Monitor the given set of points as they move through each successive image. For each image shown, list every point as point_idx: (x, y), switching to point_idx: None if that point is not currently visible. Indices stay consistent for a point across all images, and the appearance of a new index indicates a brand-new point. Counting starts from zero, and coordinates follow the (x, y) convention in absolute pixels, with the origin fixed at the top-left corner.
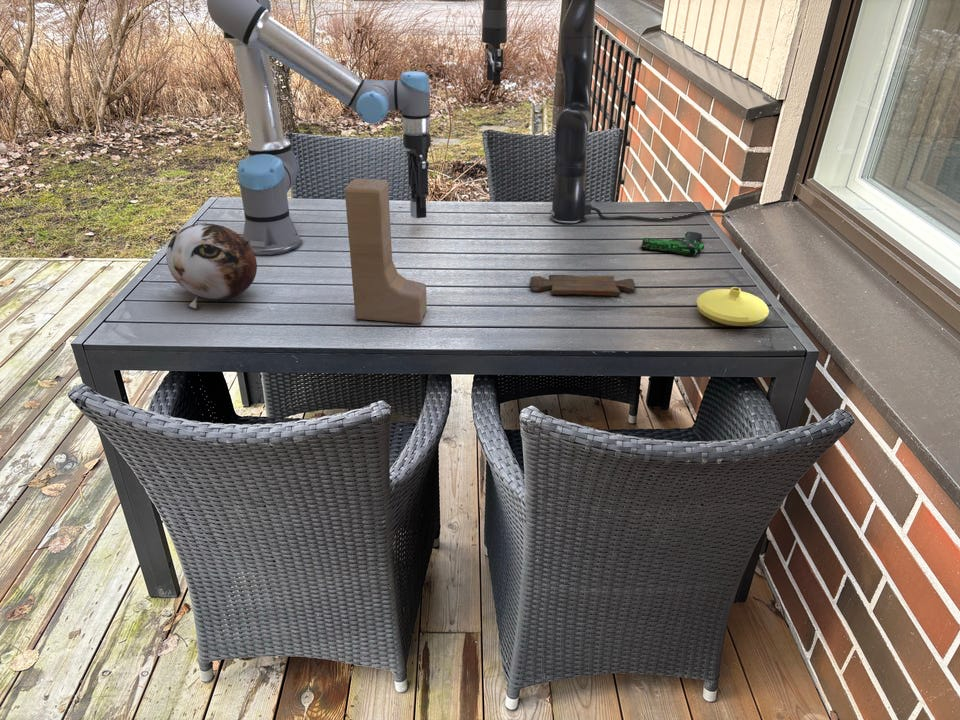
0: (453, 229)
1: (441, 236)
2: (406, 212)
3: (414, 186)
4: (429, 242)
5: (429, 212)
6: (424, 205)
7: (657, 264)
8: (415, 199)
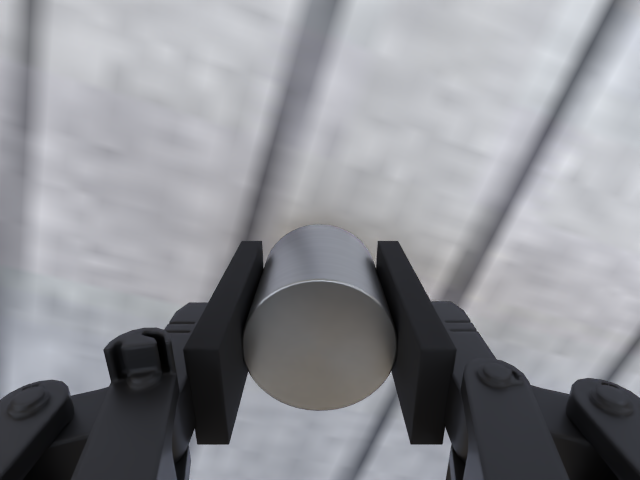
0: (413, 19)
1: (498, 147)
2: (16, 233)
3: (176, 447)
4: (551, 242)
5: (22, 83)
6: (462, 316)
7: None
8: (301, 366)
